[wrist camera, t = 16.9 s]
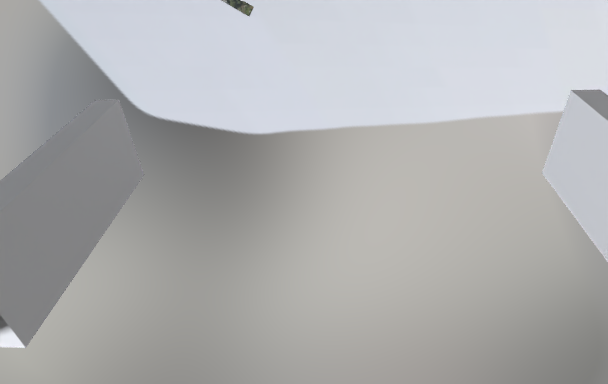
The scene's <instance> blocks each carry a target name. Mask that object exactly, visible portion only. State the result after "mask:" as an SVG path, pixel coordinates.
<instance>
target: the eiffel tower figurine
mask: <svg viewBox="0 0 608 384" xmlns="http://www.w3.org/2000/svg"><path fill="white" fill-rule="evenodd" d="M222 1H223V2H225V3H227V4H229V5H230V6H232V7H234V8H236V9H237V10H239V11H241V12H242V13H244V14H246V15H248V16H249V15H250V13H251V11H252V9H253V6H251V5H249V4H248V3H246V2H244V1H240V0H222Z"/></svg>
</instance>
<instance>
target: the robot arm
mask: <svg viewBox="0 0 608 384" xmlns="http://www.w3.org/2000/svg"><path fill="white" fill-rule="evenodd" d="M542 174H543V175H544V176H545V178H546V179H547V181H548V182H549V183H550V185H551V186H552V187H553V189H554V190H555V191H556V193H557V194H558V195H559V197H560V198H561V200H562V201H563V202H564V203H565V205H566V206H567V208H568V209H569V210H570V212H571V213H572V214H573V216H574V217H575V218H576V220H577V221H578V222H579V224H580V225H581V227H582V228H583V229H584V231H585V232H586V233H587V235H588V236H589V237H590V239H591V240H592V241H593V243H594V244H595V246H596V247H597V248H598V250H599V251H600V252H601V254H602V255H603V256H604V258H605V259H606V261H607V262H608V95H606V94H605V93H604V92H602V91H601V90H571V92H570V95H569V97H568V100H567V103H566V106H565V109H564V112H563V114H562V117H561V120H560V123H559V126H558V129H557V132H556V134H555V137H554V140H553V143H552V146H551V149H550V151H549V154H548V157H547V160H546V163H545V166H544V168H543V171H542ZM143 176H144V173H143V170H142V167H141V164H140V161H139V158H138V155H137V152H136V149H135V146H134V143H133V140H132V137H131V134H130V131H129V128H128V125H127V122H126V119H125V116H124V113H123V110H122V107H121V104H120V101H119V100H95V101H93V102H92V103H91V104H90V105H89V106H87V107H86V108H85V109H84V110H83V111H82V112H80V113H79V114H78V115H77V116H76V117H74V118H73V119H72V120H71V121H70V122H69V123H68V124H66V125H65V126H64V127H63V128H62V129H60V130H59V131H58V132H57V133H56V134H55V135H53V136H52V137H51V138H50V139H49V140H47V141H46V142H45V143H44V144H43V145H42V146H40V147H39V148H38V149H37V150H36V151H35V152H33V153H32V154H31V155H30V156H29V157H28V158H26V159H25V160H24V161H23V162H22V163H20V164H19V165H18V166H17V167H16V168H15V169H13V170H12V171H11V172H10V173H9V174H8V175H6V176H5V177H4V178H3V179H2V180H1V181H0V347H19V348H26V347H27V345H28V344H29V342H30V340H31V339H32V338H33V336H34V335H35V333H36V332H37V331H38V329H39V328H40V326H41V325H42V323H43V322H44V320H45V319H46V317H47V316H48V314H49V313H50V312H51V310H52V309H53V307H54V306H55V304H56V303H57V301H58V300H59V298H60V297H61V295H62V294H63V293H64V291H65V290H66V288H67V287H68V285H69V284H70V282H71V281H72V280H73V278H74V277H75V275H76V274H77V272H78V271H79V269H80V268H81V266H82V265H83V263H84V262H85V260H86V259H87V258H88V256H89V255H90V253H91V252H92V250H93V249H94V247H95V246H96V244H97V243H98V242H99V240H100V239H101V237H102V236H103V234H104V233H105V231H106V230H107V228H108V227H109V226H110V224H111V223H112V221H113V220H114V218H115V217H116V215H117V214H118V212H119V211H120V209H121V208H122V207H123V205H124V204H125V202H126V201H127V199H128V198H129V196H130V195H131V193H132V192H133V190H134V189H135V188H136V186H137V185H138V183H139V182H140V180H141V179H142V177H143Z"/></svg>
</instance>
